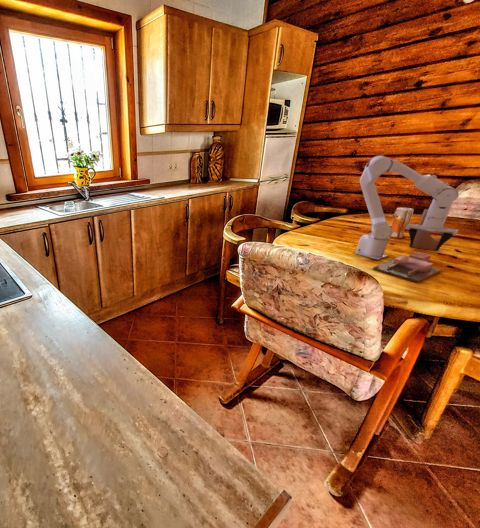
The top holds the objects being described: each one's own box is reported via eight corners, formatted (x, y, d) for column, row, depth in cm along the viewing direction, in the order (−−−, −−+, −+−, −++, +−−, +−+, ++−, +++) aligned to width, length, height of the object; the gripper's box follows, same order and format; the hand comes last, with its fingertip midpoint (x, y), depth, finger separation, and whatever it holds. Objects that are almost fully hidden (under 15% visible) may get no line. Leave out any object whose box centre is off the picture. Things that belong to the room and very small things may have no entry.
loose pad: (407, 261, 120) (409, 255, 119) (415, 258, 123) (417, 251, 122) (420, 264, 117) (423, 258, 115) (428, 261, 119) (431, 254, 118)
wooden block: (436, 248, 131) (452, 210, 124) (437, 251, 128) (454, 213, 121) (410, 244, 137) (424, 208, 130) (411, 247, 134) (425, 210, 127)
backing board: (372, 269, 115) (375, 261, 114) (396, 260, 122) (398, 253, 120) (416, 283, 103) (420, 274, 102) (439, 272, 110) (443, 264, 109)
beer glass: (383, 234, 152) (392, 207, 146) (395, 234, 152) (404, 206, 146) (395, 238, 145) (405, 210, 139) (407, 237, 146) (418, 209, 140)
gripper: (410, 216, 114) (399, 247, 120) (463, 221, 104) (448, 254, 110) (411, 213, 119) (400, 242, 124) (462, 217, 109) (448, 249, 114)
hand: (423, 248), depth 117 cm, fingers open, 7 cm apart
